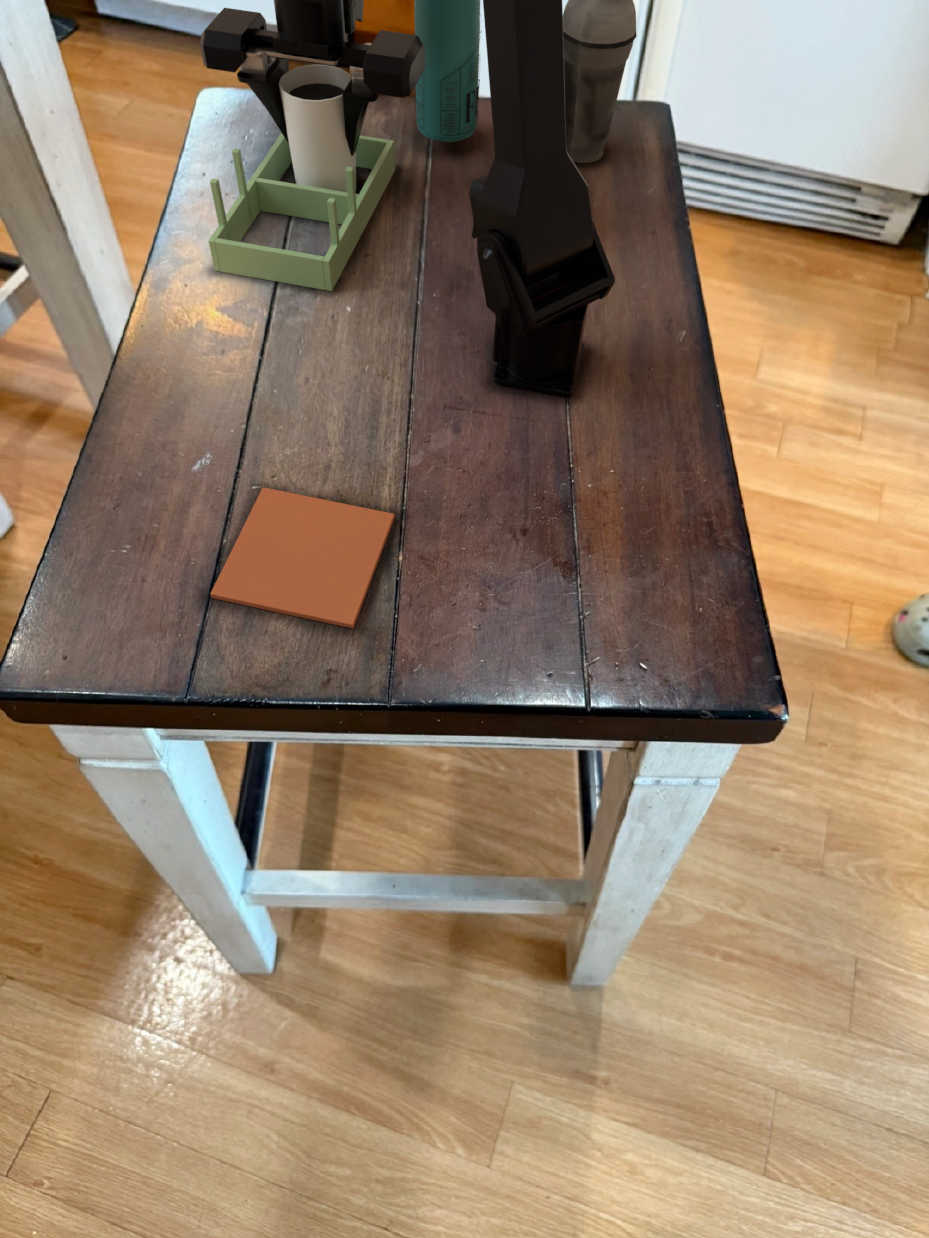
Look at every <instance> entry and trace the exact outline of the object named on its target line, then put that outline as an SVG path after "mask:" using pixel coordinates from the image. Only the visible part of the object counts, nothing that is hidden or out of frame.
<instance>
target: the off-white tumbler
mask: <svg viewBox="0 0 929 1238" xmlns="http://www.w3.org/2000/svg"><path fill="white" fill-rule="evenodd" d="M351 76H352V75H350V72H347V71H346V70H344V68H342V67H335V66H328V65H322V64H315V63H312V64H308V65H299V66H297V67H294V68H291V69H289V71H288V72H286V73H285V74H284V75H283V76H281V78H280V81H279V89H280V95H281V101H282V106H283V112H284V117H285V122H286V127H287V135H288V141H289V146H290V152H291V158H292V162H291V164H292V168H293V174H294V180H295V184H299V185H305V186H311V187H317V188H323V189H330V190H336V191H342V192H347V184H346V172H345V170H346V168H347V166H348V167H353V168H354V180H355V193H356V191H357V167H356V151H355V153H354V155H353V156H351V154H350V150H349V146H348V143H347V139H346V136H345V123H344V110H343V96H342V93H343V91H344V90H345V88H346V86H347V85H348V83H349V82H350V80H351V79H352V78H351Z"/></svg>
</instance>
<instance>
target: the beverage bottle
mask: <svg viewBox="0 0 929 1238" xmlns="http://www.w3.org/2000/svg"><path fill="white" fill-rule="evenodd" d="M413 2H414V35H418V37H419V38H420V40H421V42H422V43H423V45H424V47H425V69H424V71H423V73H422V75H421V76H420V78H419V80H418V82H417V84H416V85H415V87H414V89H413V91H415V97H414V106H415V109H414V114H415V123H416V126H417V129H418V131H419V132H420V134H421V135H423V136H424V137H426V138H428V139H430V140H433V141H437V142H444V143H451V142H452V143H453V142H460V141H462V140H466V139H468V138H470V137H472V136H473V134H474V133H475V131H476V128H477V126H478V121H479V118H478V117H479V113H480V112H479V111H480V110H479V101H480V97H479V96H480V80H481V79H480V76H481V70H480V67H481V64H480V60H481V58H482V57H481V54H480V41H481V37H482V36H481V34H482V27H481V23H482V22H483V21H482V20H481V17H482V15H481V0H414V1H413Z"/></svg>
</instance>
